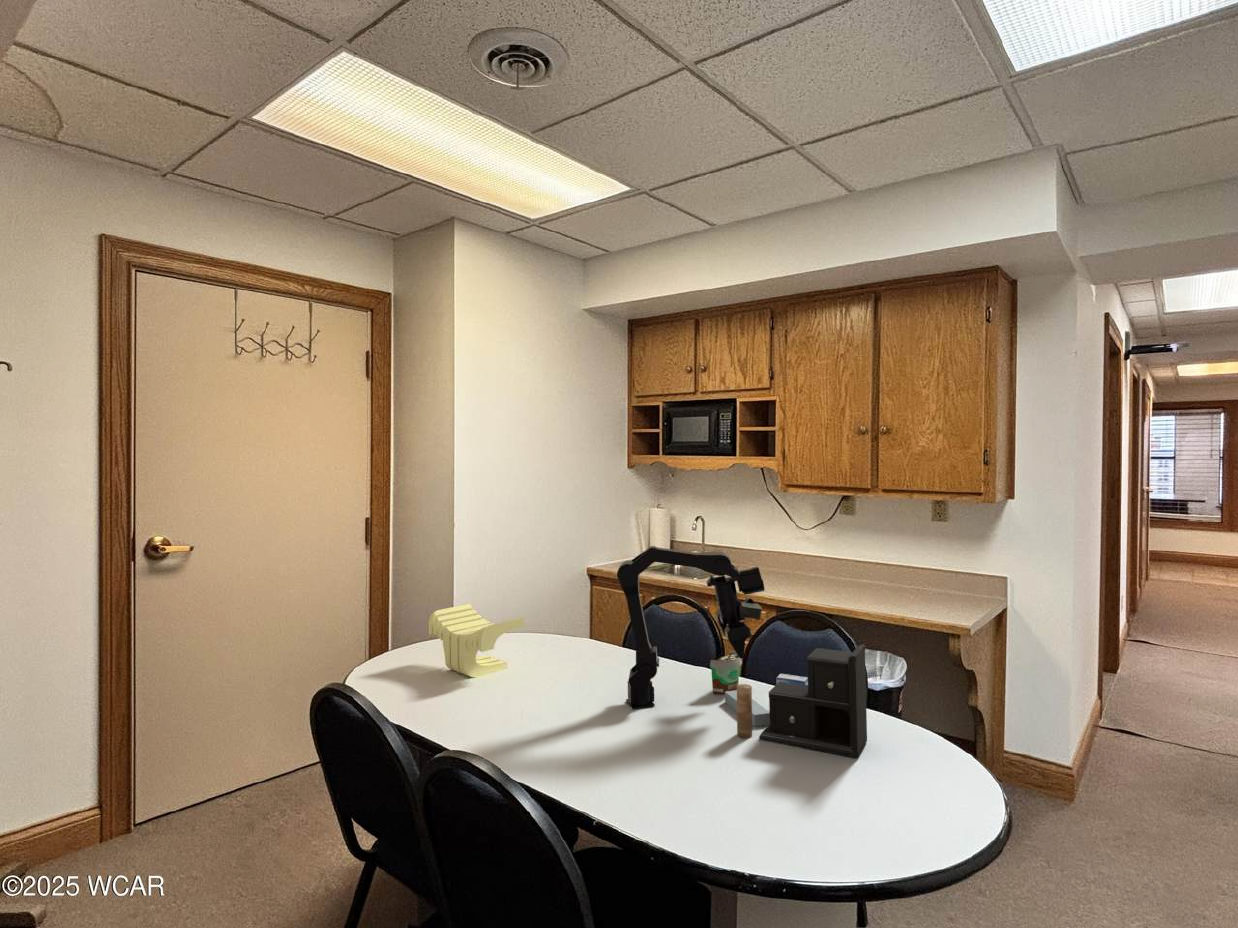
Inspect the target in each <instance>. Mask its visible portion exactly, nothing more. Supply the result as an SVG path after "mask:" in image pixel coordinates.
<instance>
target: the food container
mask: <svg viewBox="0 0 1238 928" xmlns="http://www.w3.org/2000/svg"><path fill="white" fill-rule="evenodd" d="M742 664H743V661H742V659H740V658H739V656H738V654H737V653H736V651H735V650H729V653H728V654H727V655H723V656H720V657H719V658H718V659H716V660H715V659H710V664H709V668H710V669H711V670H710V671H711V682H712V683H711V684H712V685H711V687H712V694H713V695H719V696H720V695H721V696H722V695H723V696H725V692H726V691H735V690H737V685H739V680H740V667H741V665H742Z"/></svg>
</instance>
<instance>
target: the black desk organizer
mask: <svg viewBox="0 0 1238 928" xmlns="http://www.w3.org/2000/svg"><path fill="white" fill-rule="evenodd" d="M806 661H807V662H806V663H807V677H808V685H802V684H795V683H788V682H778V683H777V684H775V685H774V687H772V688H771V689H770V690H769V691H768V705H769V706H768V707H769V712H770V724H769V725H766V727H765V729H763V731H761V733H760V735H759V737H758V739H759V741H763V742H769V743H770V742H771V743H775V744H781V745H786V746H792V747H797V748H803V749H808V750H813V751H818V752H823V753H827V754H828V753H829V754H835V755H841V756H844V757H851V758H853V759H854V758H855V759H858V758H859V756H860V755H861V753H862V751H864V748H865V746H866V744H867V742H868V722H867V721H868V720H867V719H868V718H867V716H868V715H867V692H866V691H867V684H866V680H867V678H866V645H865V644H863V643H862V644H859V645H858V646H857V647H856V648H855V649H854V650H853V652H852V651H847V650H846V651H844V650H839V649H838V650H836V649H828V648H820V647H819V648H818V647H816V648H815V649H814V650H812V652H811V653H810V654H809V655H808V656H807V657H806Z"/></svg>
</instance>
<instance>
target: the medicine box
mask: <svg viewBox="0 0 1238 928" xmlns="http://www.w3.org/2000/svg"><path fill="white" fill-rule="evenodd" d="M775 680H776V682H775V683H776V684H777V683H778V682H788V683H795V684H802V685H808V676H801V675H800V676H799V675H793V674H787V673H779V675H778V676H777V677H776V679H775ZM776 684H775V685H776Z"/></svg>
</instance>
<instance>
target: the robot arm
mask: <svg viewBox="0 0 1238 928" xmlns="http://www.w3.org/2000/svg"><path fill="white" fill-rule="evenodd" d="M654 563H660V564H661V563H662V564H668V565H675V566H682V567H689V568H696V569H698V570H702V571H704V572H707V573H709V574H711V575H710V576H709V578H708V579H707V580H706V586H707V587H709V588H710V587H714V592H715V598H716V605H717V607H718V609H717V610H716V612H715V617H716V620H717V623H718V625H719V626H720V628H721V630H722V631H723V633H724V634H725V636H726V639H727V641H728V642H729V644H730V646H732V648H733V651H734V652H736V653H737V654H738V656H739V658H740V659H741V660H742V659H745V646H746V641H747V639H748V638H750V637H751V636H752V632H751V627H750V626H749V624H748V623H746V622H744V621H746V618H747V619H752V620H754V619H755V620H757V621H759V620H762V619H761V618H762V612H763V611H762V610H763V608H762V606H761V605H760V604H758V603H756V602H755V601H754V599H753V598H752V597H746V598H745V599H744V601H742V602H741V601H740V599H739V596H738V592H739V593H742V594H743V595H744V596H746V595H752V594H757V593H761V592H765V585H764V584H765V583H764V579H762V575H761V572H760V568H759V567H758V566H753V567H751V568H747V569H742V570H741V569H740V570H739V569H738V568H737V566H735V565H733V564H732V562H731V559H730V557H729V555H728V554H727V553H725V552H722V551H706V552H692V551H686V550H679V549H678V550H677V549H671V548H665V547H659V546H658V547H657V546H655V545H651V546H648V547H647V548H646V549H645V550H644V551H642V552H641V553H640V554H638V555H637V556H635V557H634V558H632V559H631V560H625V561H623V562H621V564H620V565H619V567H618V569H617V573H616V577H617V580H618V583H619V586H620V587H621V590H622V592H623V594H624V596H625V598H626V599H625V600H626V603H627V609H628V614H629V619H630V624H631V629H632V633H633V639H634V643H635V664H634V666H632V667H631V668H630V669H629V675H628V681H627V699H625V702H626V703H627V705H628V706H629V707H630V708H631V709H634V710H635V709H641V708H643V709H645V708H652V707H655V706H656V705H655V703H654V702H655V687H654V686H653V681H651V680H652V679H653V678H655V677H656V675H657V672H658V668H659V667H660V658H659V656H658V651H657V650H658V648H657V645H655V646H653V647H652V645H651V642H650V641H649V640H650V639H649V634H648V629H647V625H646V620H645V613H644V609H643V605H642V599H641V594H640V575H641V574H642V573H644V571H646V569H648V568H649V567H650V566H652V565H653V564H654ZM713 575H716V576H713ZM726 576H728V577H726ZM736 584H737V586H736ZM737 588H738V592H737Z"/></svg>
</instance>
